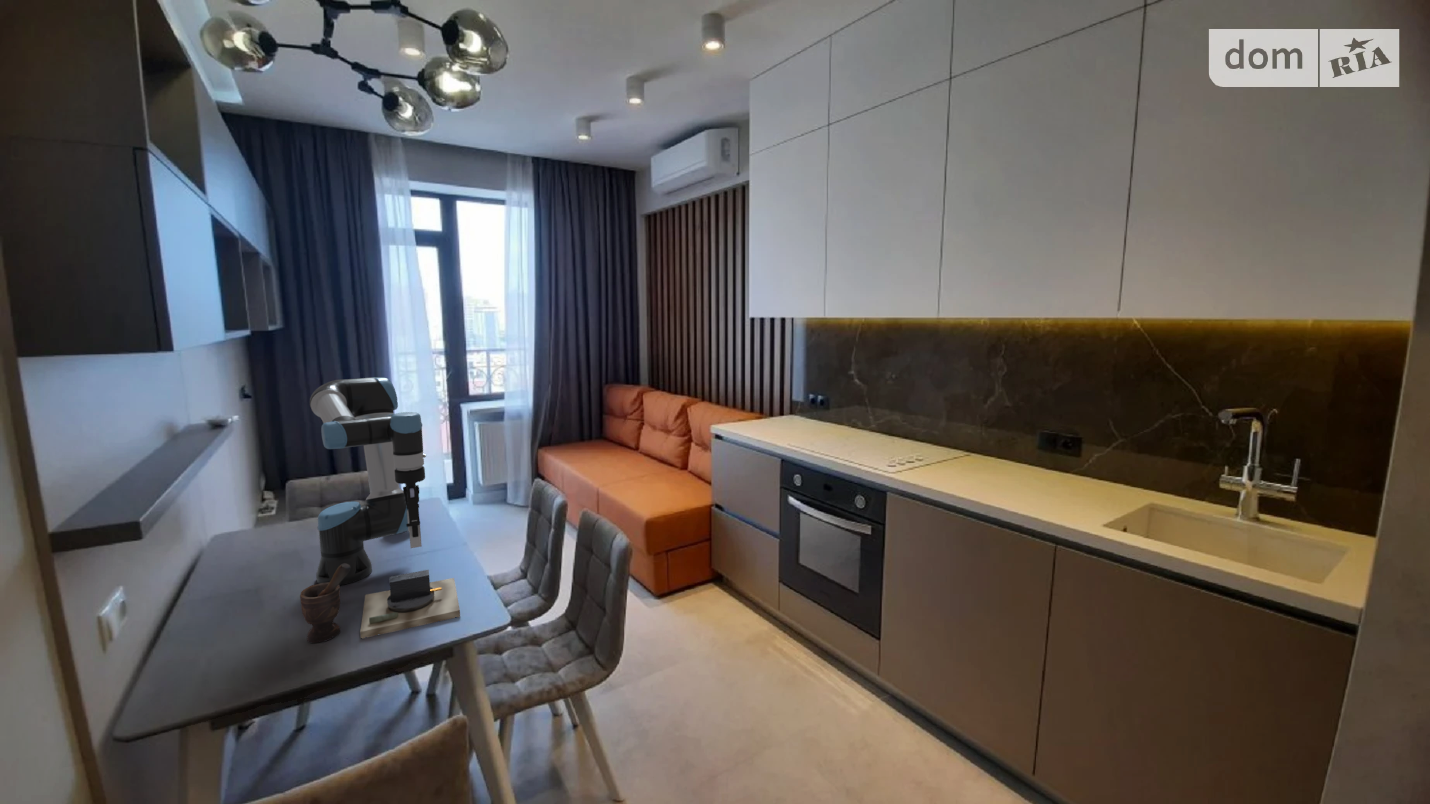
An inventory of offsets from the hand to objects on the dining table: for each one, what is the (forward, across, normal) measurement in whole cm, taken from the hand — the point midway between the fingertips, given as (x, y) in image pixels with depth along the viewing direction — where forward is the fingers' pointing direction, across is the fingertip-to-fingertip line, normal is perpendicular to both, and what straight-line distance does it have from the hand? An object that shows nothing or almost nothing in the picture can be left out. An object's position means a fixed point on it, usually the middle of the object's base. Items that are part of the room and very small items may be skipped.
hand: (414, 538), depth 161 cm
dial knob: (+19, -1, +1) cm, 19 cm away
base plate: (+21, -1, +2) cm, 21 cm away
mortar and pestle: (+21, -5, +21) cm, 30 cm away
